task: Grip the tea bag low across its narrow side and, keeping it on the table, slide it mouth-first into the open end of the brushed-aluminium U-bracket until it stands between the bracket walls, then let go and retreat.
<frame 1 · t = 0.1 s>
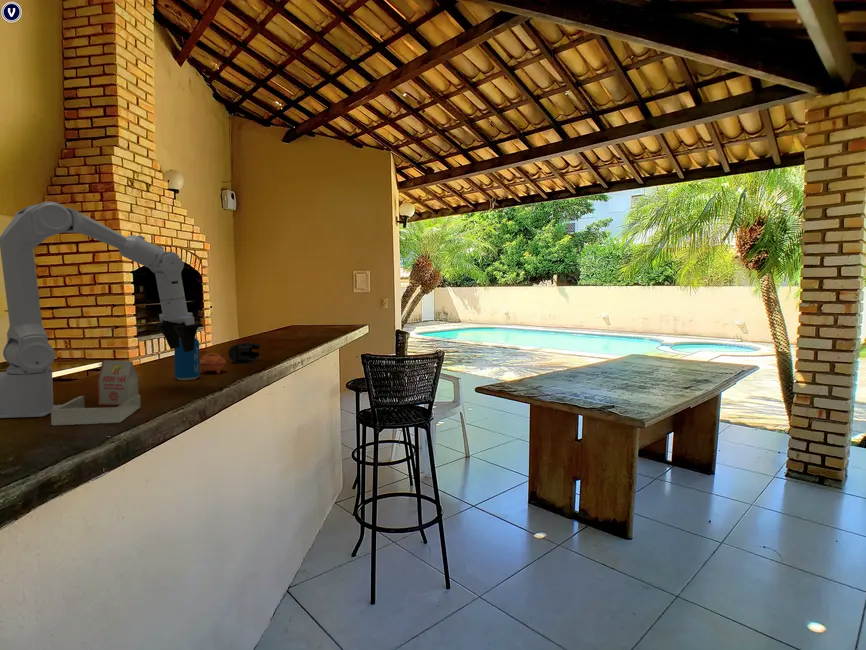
hand: (182, 349, 122), 11 cm above the table, tool pointing down, fingers open, 7 cm apart
pot: (212, 373, 146), on the table
beverage can: (187, 379, 136), on the table
end cap: (244, 362, 168), on the table
tea bag: (118, 404, 107), on the table
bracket: (100, 415, 97), on the table
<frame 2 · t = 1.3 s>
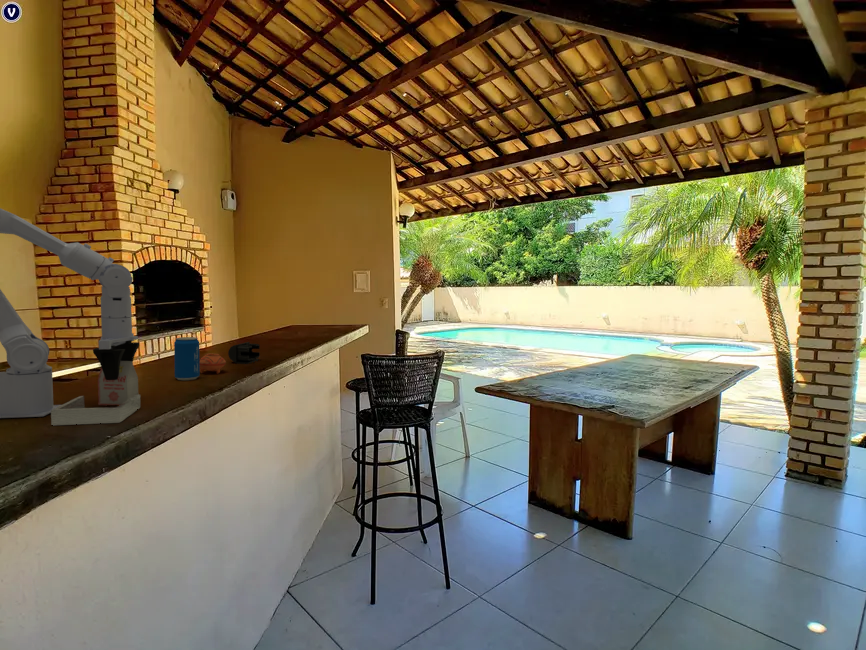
hand: (118, 376, 106), 6 cm above the table, tool pointing down, fingers open, 7 cm apart
nothing on the table moved.
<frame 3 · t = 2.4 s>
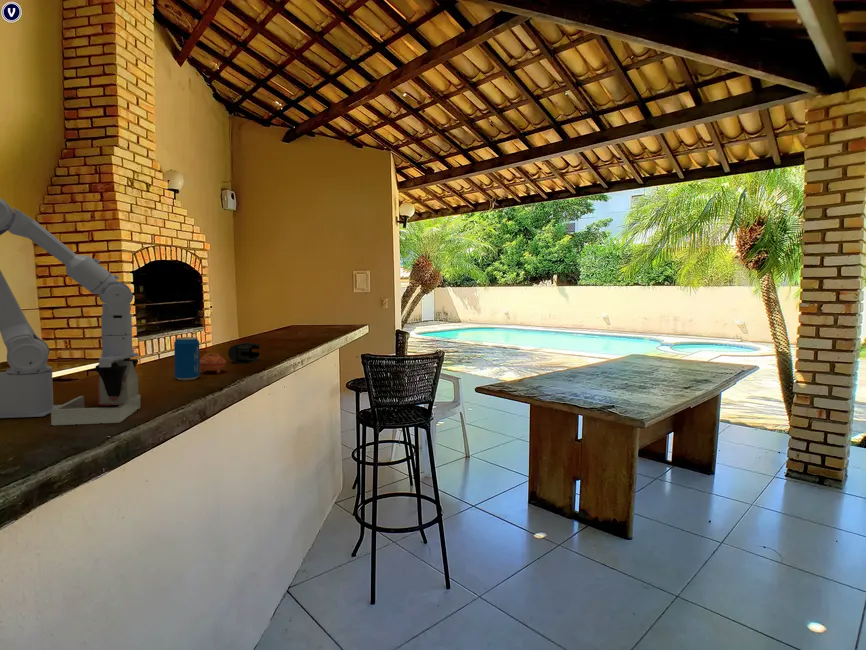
hand: (118, 393, 106), 2 cm above the table, tool pointing down, fingers closed on tea bag, 5 cm apart
tea bag: (118, 404, 107), on the table, touching gripper
everything else where it was.
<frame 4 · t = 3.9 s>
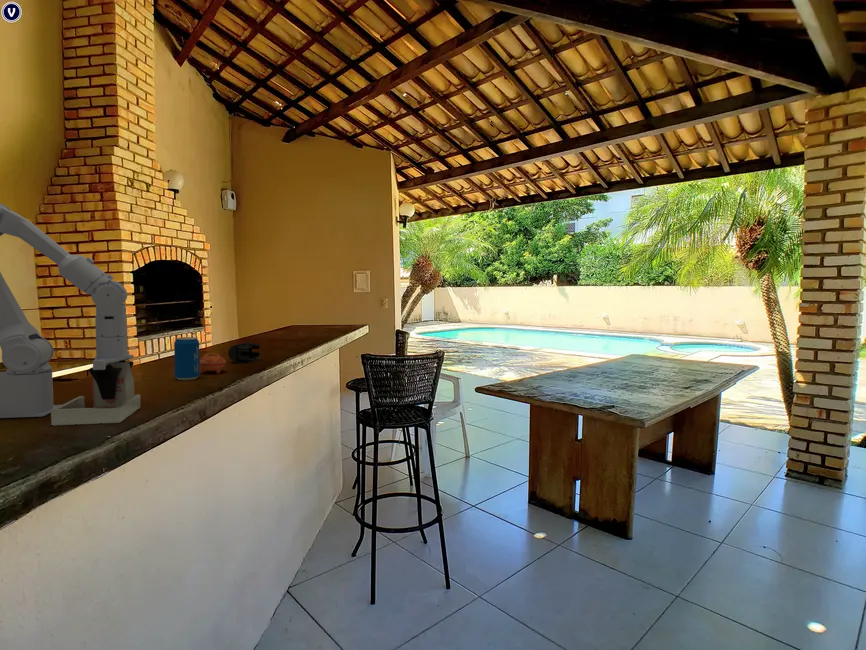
hand: (113, 396, 103), 2 cm above the table, tool pointing down, fingers open, 5 cm apart
tea bag: (114, 406, 104), on the table, touching gripper
everything else where it was.
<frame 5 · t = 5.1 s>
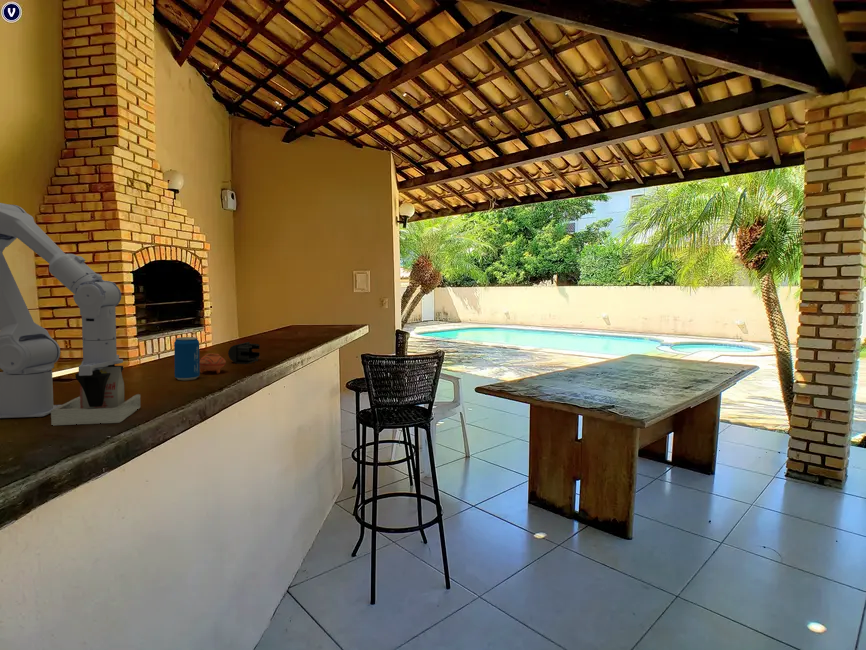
hand: (101, 403, 97), 2 cm above the table, tool pointing down, fingers open, 5 cm apart
tea bag: (103, 414, 98), on the table, touching gripper
everything else where it was.
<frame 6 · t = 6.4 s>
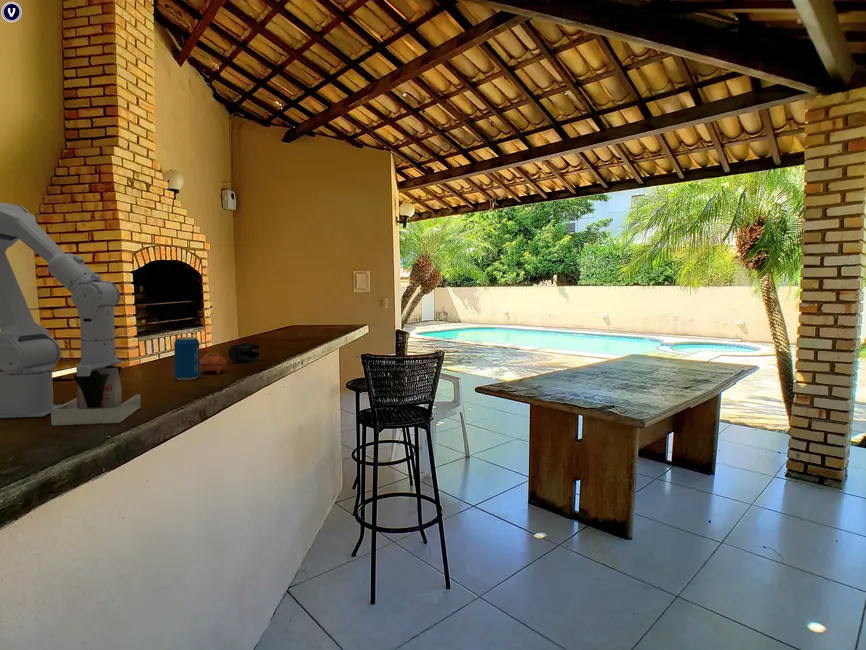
hand: (99, 404, 97), 2 cm above the table, tool pointing down, fingers open, 5 cm apart
tea bag: (100, 416, 97), on the table
everything else where it was.
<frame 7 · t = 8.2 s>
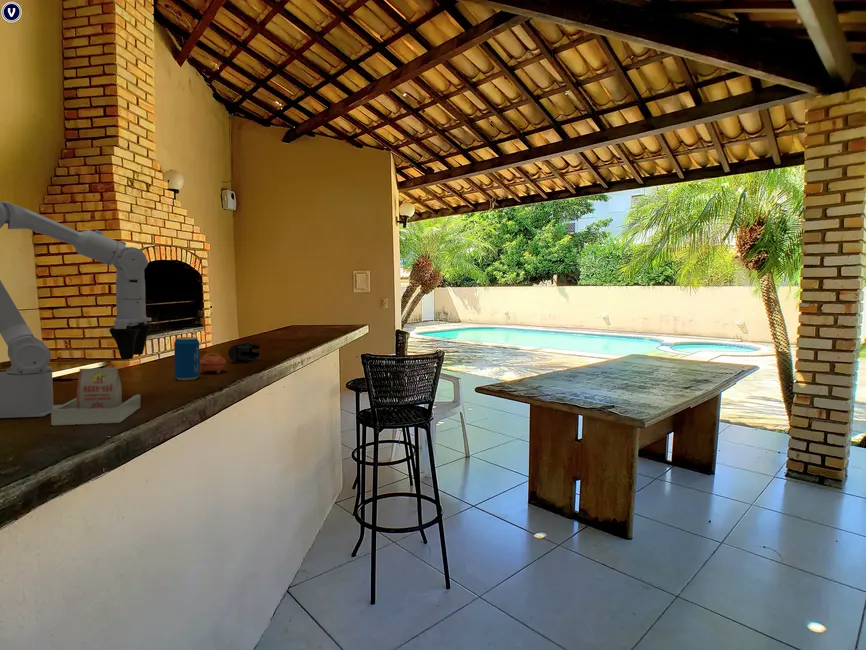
hand: (132, 356, 109), 10 cm above the table, tool pointing down, fingers open, 6 cm apart
nothing on the table moved.
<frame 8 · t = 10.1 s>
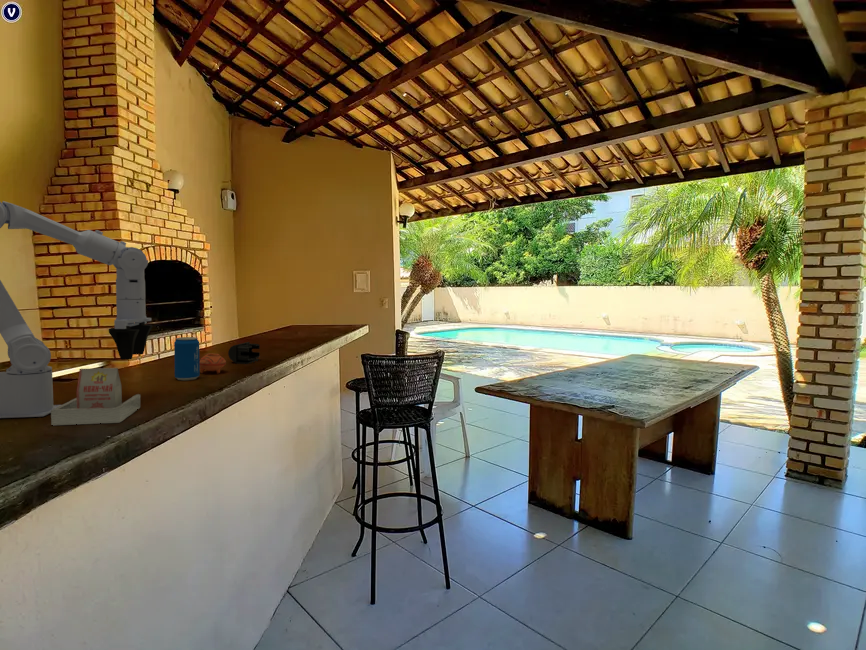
hand: (132, 356, 109), 10 cm above the table, tool pointing down, fingers open, 7 cm apart
nothing on the table moved.
at the end: tea bag inside the target area on the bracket (0.8 cm from its centre), point 0.0 cm above the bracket's base; tea bag tilted 0°; the gripper is holding nothing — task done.
